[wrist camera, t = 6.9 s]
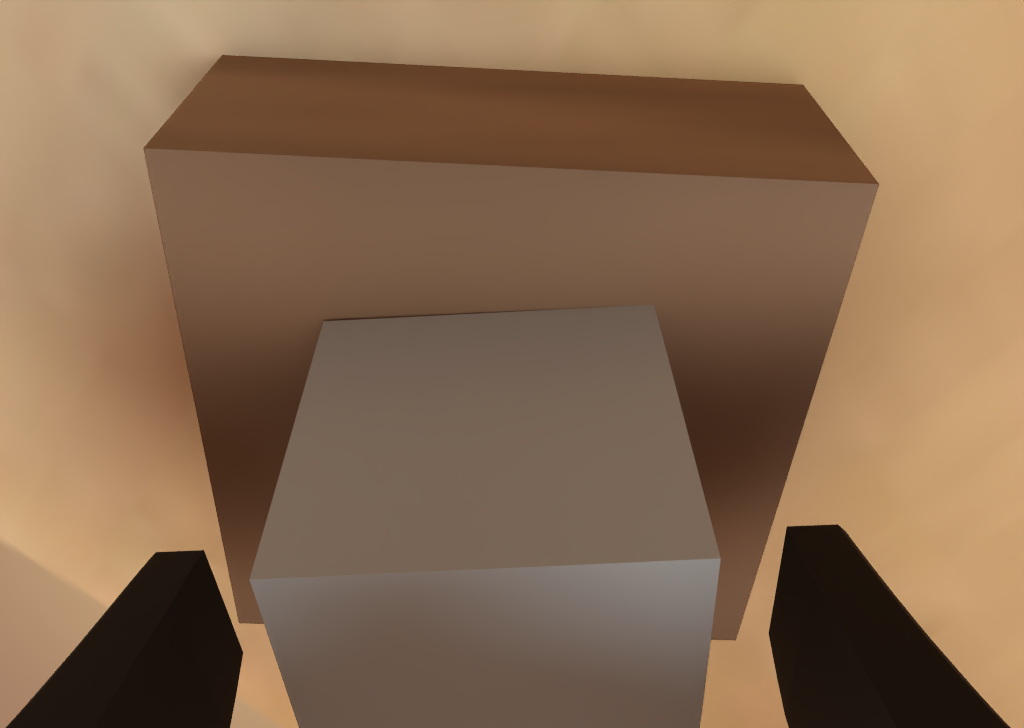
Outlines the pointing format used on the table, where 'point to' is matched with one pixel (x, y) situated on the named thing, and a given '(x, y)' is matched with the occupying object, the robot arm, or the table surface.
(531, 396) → the grey cube
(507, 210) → the walnut block
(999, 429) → the table surface
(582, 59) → the table surface
